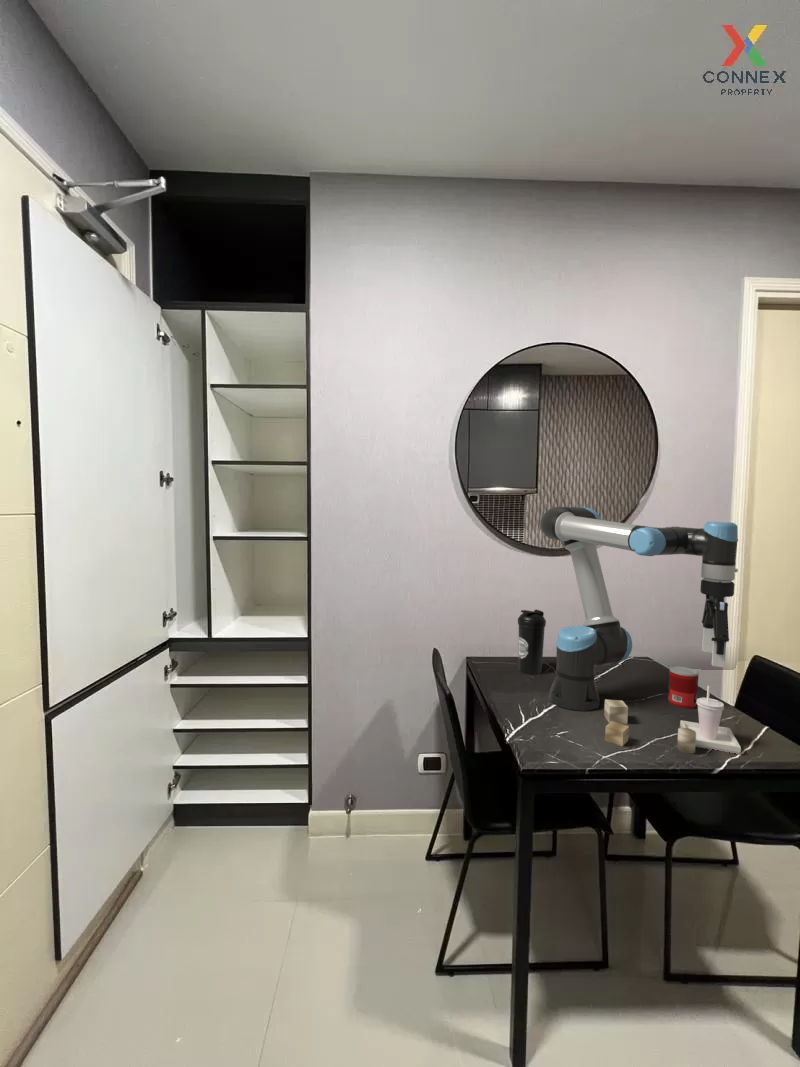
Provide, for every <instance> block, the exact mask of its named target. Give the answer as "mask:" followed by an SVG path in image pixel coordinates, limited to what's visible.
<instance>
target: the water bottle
mask: <svg viewBox="0 0 800 1067" xmlns="http://www.w3.org/2000/svg"><path fill="white" fill-rule="evenodd" d="M520 613H521V614H520V615H519V617H518V618H517V624H518V671H519V672H520V673H522V674H526V675H532V676H533V675H540V674H542V670H543V669H542V668H543V655H544V645H545V644H544V642H545V640H544V639H545V627H546V624H547V621H546V618H545V616H544V614H545V613H544V612H543V611H542V610H539V609H534V611H533V610H526V609H522V610H520Z"/></svg>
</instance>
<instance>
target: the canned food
mask: <svg viewBox="0 0 800 1067" xmlns="http://www.w3.org/2000/svg"><path fill="white" fill-rule="evenodd" d="M698 686H699V672H698V670H695V669H693V668H690V667H686V666H676V665H675V666H671V667H669V674H668V694H667V699H668V702H669V704H671V705H673V706H675V707H678V708H681V709H682V708H683V709H695V708H696V707H697V706H698V705H697V703H696V702H697V699H698V693H699V692H698V690H699V687H698Z"/></svg>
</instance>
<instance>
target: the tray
mask: <svg viewBox="0 0 800 1067" xmlns="http://www.w3.org/2000/svg"><path fill="white" fill-rule="evenodd" d="M679 721H680V722H679V728H689V729H692V730H694V731H695V732H696V745H695V748H696V747H697V748H703V749H706V748H707V750H712V749H714V750H713V751H717V750H719V751H720V752H723V751H724V752H723V753H729V752H730V754H734V753H736V754H735V755H740V754H741V751H742V748H741V745H740V743H739V741H738V740H737V738H736V737H735V735H734V733H733V732H732V730H731V728H730V727H726V726H724V727H723V726H719V728H718V733H717V738H716V740H708V739H705V738H703V737H701V736H700V726H699V722H696V721H695V722H694V721H687V720H683V719H682V720H681V719H680V720H679ZM719 751H718V752H719Z"/></svg>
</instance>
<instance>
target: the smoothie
mask: <svg viewBox="0 0 800 1067" xmlns="http://www.w3.org/2000/svg"><path fill="white" fill-rule="evenodd" d="M706 688H707V690H706V691H707V692H706V697H697V702H696V703H697V705H696V706H697V713H698V714H697V715H698V723H699V726H700V736H701V737H703V738H705V739H708V740H716V738H717V733H718V728H719V727H720V722H721V719H722V718H721V717H722V714H723V710H725V705H724V704H725V703H723V702H722V701H720V700H717V699H714V698H710V694H711V693H710V692H711V691H710V690H711V685H707V687H706Z"/></svg>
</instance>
